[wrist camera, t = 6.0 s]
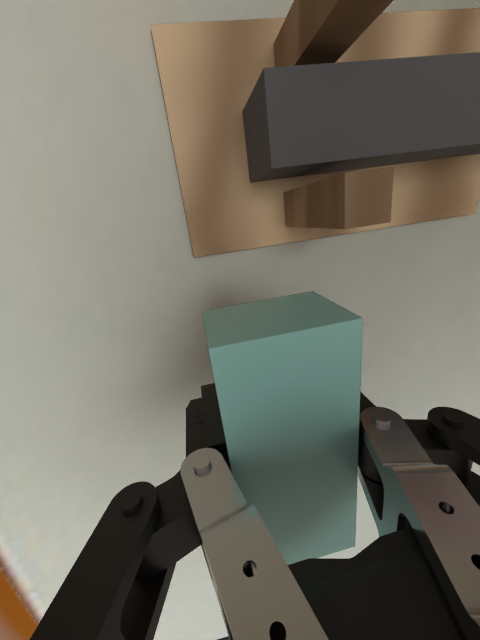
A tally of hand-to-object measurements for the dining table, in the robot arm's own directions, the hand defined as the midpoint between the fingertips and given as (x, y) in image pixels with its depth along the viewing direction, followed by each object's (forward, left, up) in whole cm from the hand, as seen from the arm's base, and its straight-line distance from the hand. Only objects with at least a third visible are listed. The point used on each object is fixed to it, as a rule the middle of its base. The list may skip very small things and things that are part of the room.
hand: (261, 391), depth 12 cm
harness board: (-8, -11, -8) cm, 16 cm away
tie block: (0, 0, +1) cm, 1 cm away
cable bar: (-10, -11, -7) cm, 17 cm away
